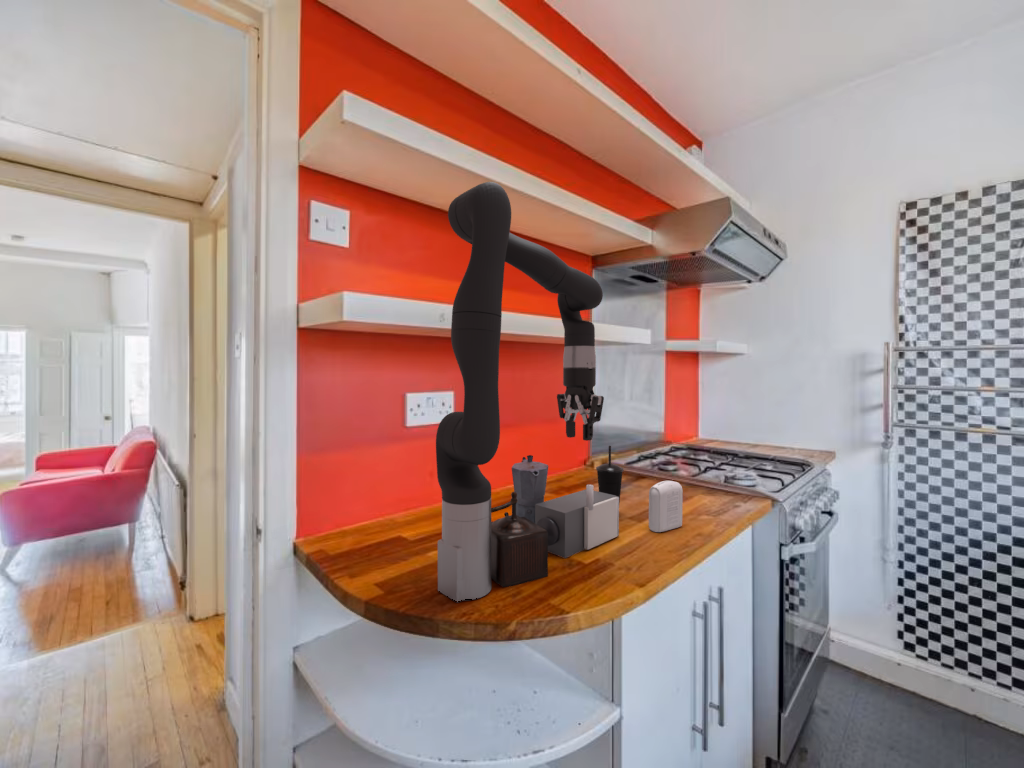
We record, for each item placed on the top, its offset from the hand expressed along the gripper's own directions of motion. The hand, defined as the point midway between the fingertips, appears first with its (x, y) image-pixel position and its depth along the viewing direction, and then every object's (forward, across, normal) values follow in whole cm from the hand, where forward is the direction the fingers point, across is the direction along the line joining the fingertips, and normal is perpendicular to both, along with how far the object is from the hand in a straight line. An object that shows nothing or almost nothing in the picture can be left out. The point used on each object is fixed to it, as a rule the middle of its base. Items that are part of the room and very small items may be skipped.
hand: (579, 438), depth 104 cm
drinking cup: (+26, -12, +22) cm, 36 cm away
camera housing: (+25, -2, +2) cm, 25 cm away
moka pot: (+26, -14, -4) cm, 30 cm away
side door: (+25, +3, +6) cm, 26 cm away
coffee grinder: (+26, +2, -23) cm, 34 cm away
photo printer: (+26, +4, +27) cm, 37 cm away
